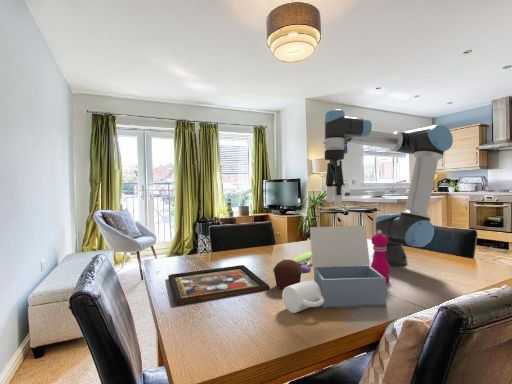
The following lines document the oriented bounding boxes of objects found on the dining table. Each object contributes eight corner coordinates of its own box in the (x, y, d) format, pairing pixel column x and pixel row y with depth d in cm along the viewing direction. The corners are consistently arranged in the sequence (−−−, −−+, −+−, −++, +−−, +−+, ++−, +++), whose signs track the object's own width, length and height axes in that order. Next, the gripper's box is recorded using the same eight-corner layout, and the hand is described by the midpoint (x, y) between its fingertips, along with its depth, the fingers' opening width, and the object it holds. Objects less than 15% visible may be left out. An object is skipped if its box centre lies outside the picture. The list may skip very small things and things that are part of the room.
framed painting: (177, 311, 94) (177, 303, 93) (159, 281, 125) (159, 275, 125) (278, 289, 111) (277, 282, 111) (240, 268, 142) (240, 262, 142)
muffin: (295, 294, 104) (294, 266, 104) (268, 289, 110) (267, 263, 110) (307, 283, 114) (306, 258, 114) (282, 279, 120) (281, 255, 120)
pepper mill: (389, 277, 118) (388, 228, 117) (391, 283, 111) (390, 231, 110) (370, 276, 120) (369, 228, 119) (371, 282, 113) (370, 231, 112)
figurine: (343, 265, 138) (343, 253, 138) (297, 275, 125) (297, 262, 125) (317, 257, 154) (317, 247, 154) (275, 265, 142) (274, 254, 142)
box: (369, 289, 105) (369, 265, 105) (386, 306, 91) (385, 278, 91) (314, 291, 106) (313, 267, 106) (322, 307, 92) (321, 279, 92)
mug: (282, 308, 93) (281, 283, 93) (304, 300, 99) (303, 276, 98) (309, 322, 83) (309, 294, 83) (332, 312, 89) (331, 286, 89)
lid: (369, 265, 105) (369, 265, 106) (365, 225, 108) (364, 225, 109) (313, 266, 106) (312, 266, 106) (310, 227, 109) (309, 227, 110)
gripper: (319, 153, 128) (318, 201, 129) (331, 145, 103) (331, 204, 104) (336, 153, 128) (335, 201, 128) (353, 145, 103) (352, 204, 103)
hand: (333, 203), depth 116 cm, fingers open, 13 cm apart
